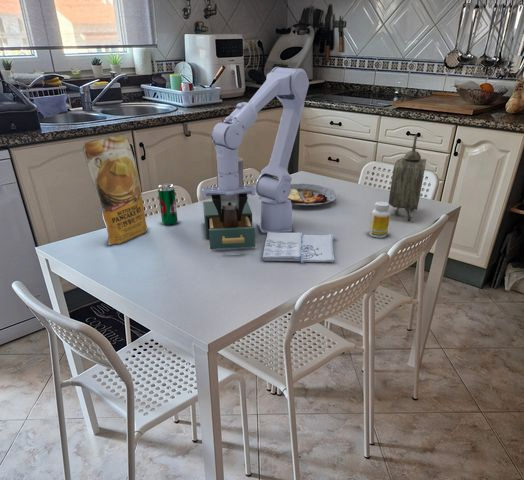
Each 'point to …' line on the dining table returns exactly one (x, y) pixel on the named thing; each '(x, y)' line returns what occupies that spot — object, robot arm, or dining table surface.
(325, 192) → the food plate
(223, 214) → the pepper mill
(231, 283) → the dining table surface
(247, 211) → the cabinet
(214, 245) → the drawer
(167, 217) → the soda can
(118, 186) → the pancake mix bag
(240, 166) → the pillar candle
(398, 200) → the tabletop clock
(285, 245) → the open sketchbook
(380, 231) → the supplement bottle
